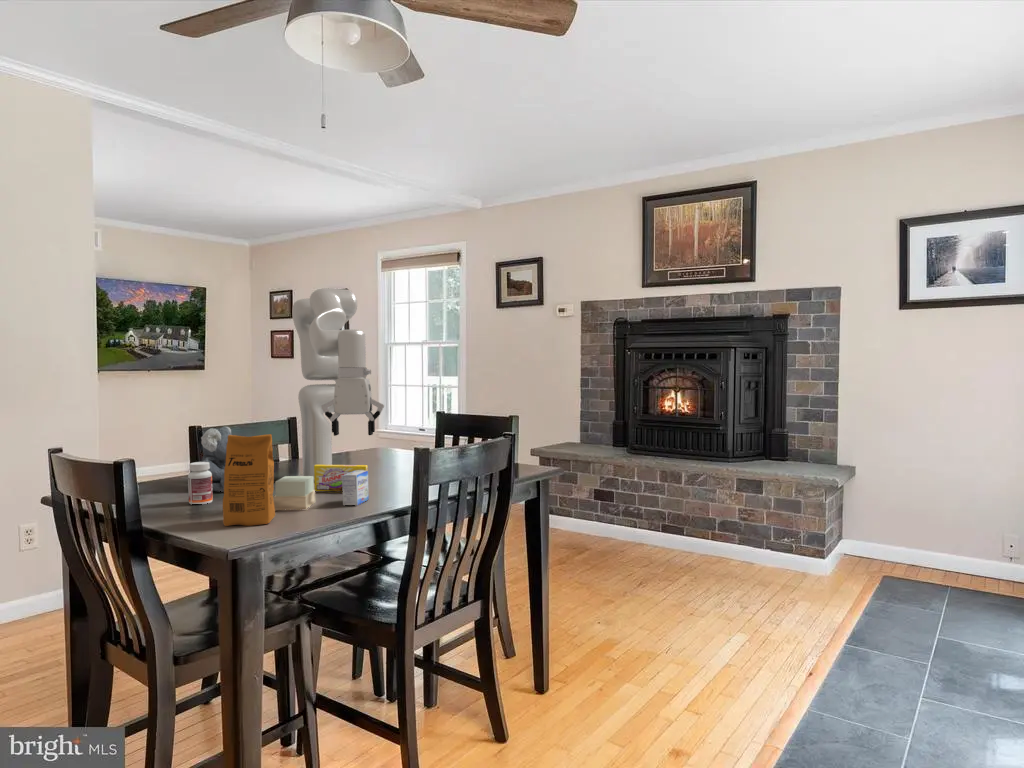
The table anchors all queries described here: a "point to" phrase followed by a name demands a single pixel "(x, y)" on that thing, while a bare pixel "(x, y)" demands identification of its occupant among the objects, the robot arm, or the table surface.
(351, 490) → the medicine box
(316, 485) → the candy box
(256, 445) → the coffee package
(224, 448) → the koala plush
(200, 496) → the pill bottle
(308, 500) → the maple block
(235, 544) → the table surface
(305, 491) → the sage block
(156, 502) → the table surface
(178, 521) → the table surface
